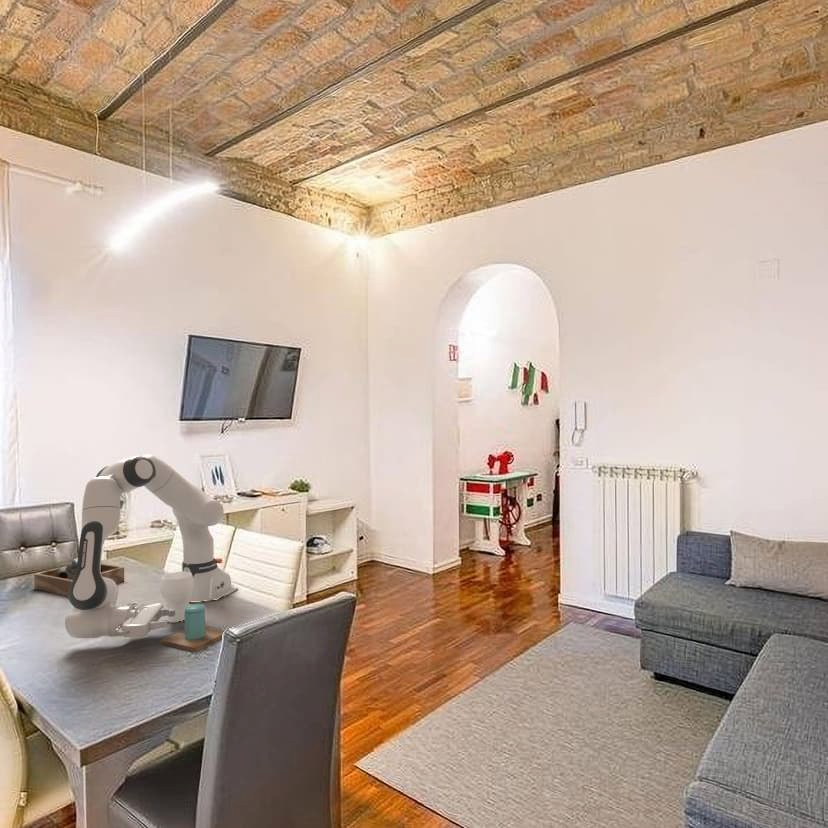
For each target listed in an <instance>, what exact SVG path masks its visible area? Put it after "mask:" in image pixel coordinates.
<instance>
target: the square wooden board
mask: <svg viewBox="0 0 828 828" xmlns="http://www.w3.org/2000/svg"><path fill="white" fill-rule="evenodd" d="M224 631H225V630H222V629H220V628H219V629H217V628H215V627H214V628H213V627H208V626H206V635H205V636H204V637H202V638H200V639H193V640H189V639H185V629H184V630H181V631H179V632H177V633H174V634H171V635H170V636H168V637H166V638H162V639H160V642H161V645H163V646H167V647H168V646H169V647H173V648H176V649H182V650H184V651H190V652H193V653H195V652H197V651H199V650H201V649H203V648H206V647H208V646H209V645H211V644H214V643H216V642H218V641H220V640H222V639H223V638H222V634H223V632H224ZM221 638H222V639H221ZM219 639H220V640H219Z"/></svg>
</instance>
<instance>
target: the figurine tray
mask: <svg viewBox="0 0 828 828" xmlns="http://www.w3.org/2000/svg"><path fill="white" fill-rule="evenodd" d="M66 566H67V565H64V566H61V567H60V566H59V567H57V568H53V569H50V570H45V571H40V572H37V573H34V574H33V576H34V577H33V578H34V580H33V581H34V588H33V589H35V590H38V589H39V590H38V591H42V590H44V591H43V592H47V591H48V593H52V592H53V594H58V595H62V596H66V595H67V597H68V591H69V588H70V585H71V583H72V581H73V580H69V579H64V578H59V577H55V576H54V575H55V574H56V572H57V571H58V570H59V569H61V568H63V567H66ZM100 571H101V575H102V577H106V578H110V579H112V580H113V581H115V583H117V584H120V583H123V582H122V581H124V582H125V566H119V565H115V564H114V565H113V564H107V563H102V562H101V569H100ZM119 582H120V583H119Z"/></svg>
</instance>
